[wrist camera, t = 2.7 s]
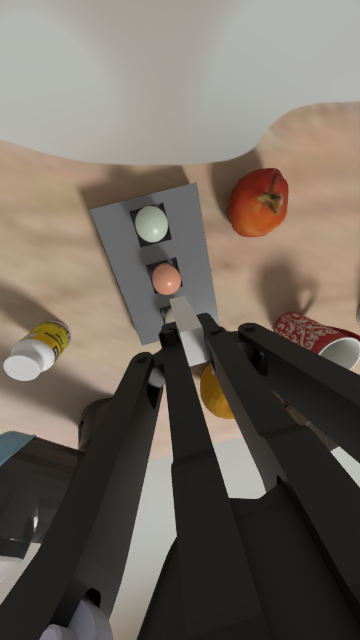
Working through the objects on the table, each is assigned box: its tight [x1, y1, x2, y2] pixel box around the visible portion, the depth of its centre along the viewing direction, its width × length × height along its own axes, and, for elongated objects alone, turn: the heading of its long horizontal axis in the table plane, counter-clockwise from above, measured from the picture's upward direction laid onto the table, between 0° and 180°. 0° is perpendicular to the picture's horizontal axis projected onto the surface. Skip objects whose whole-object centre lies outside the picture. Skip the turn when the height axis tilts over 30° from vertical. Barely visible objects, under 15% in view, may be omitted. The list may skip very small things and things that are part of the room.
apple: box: [200, 363, 235, 419], centre depth 43 cm, size 13×13×11 cm
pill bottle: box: [3, 321, 71, 381], centre depth 33 cm, size 6×6×11 cm
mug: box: [274, 312, 360, 370], centre depth 39 cm, size 13×9×14 cm
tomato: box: [228, 168, 288, 237], centre depth 30 cm, size 9×9×8 cm
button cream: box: [165, 307, 175, 324], centre depth 35 cm, size 4×4×4 cm
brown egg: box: [152, 263, 181, 295], centre depth 31 cm, size 4×4×4 cm
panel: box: [90, 183, 219, 345], centre depth 34 cm, size 16×24×4 cm, turn 13°
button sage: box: [135, 206, 168, 242], centre depth 28 cm, size 4×4×4 cm
